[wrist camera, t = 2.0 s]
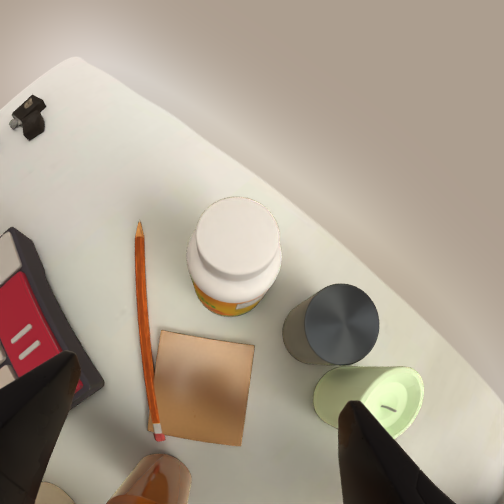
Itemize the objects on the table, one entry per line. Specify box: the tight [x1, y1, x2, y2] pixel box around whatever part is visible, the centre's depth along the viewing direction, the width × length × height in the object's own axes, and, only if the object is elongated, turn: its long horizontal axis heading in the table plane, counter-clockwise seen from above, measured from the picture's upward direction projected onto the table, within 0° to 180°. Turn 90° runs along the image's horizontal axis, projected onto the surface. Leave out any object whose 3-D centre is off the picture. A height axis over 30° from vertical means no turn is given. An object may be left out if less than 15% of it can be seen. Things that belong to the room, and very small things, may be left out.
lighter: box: [9, 95, 46, 141], centre depth 26 cm, size 8×2×5 cm
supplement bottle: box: [186, 197, 282, 317], centre depth 18 cm, size 5×5×10 cm
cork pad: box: [148, 330, 255, 446], centre depth 20 cm, size 8×7×1 cm
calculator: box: [0, 227, 104, 410], centre depth 17 cm, size 11×4×15 cm
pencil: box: [135, 219, 165, 441], centre depth 21 cm, size 1×18×1 cm, turn 8°
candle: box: [313, 366, 424, 439], centre depth 17 cm, size 5×5×8 cm
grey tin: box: [283, 284, 379, 365], centre depth 19 cm, size 5×5×6 cm
